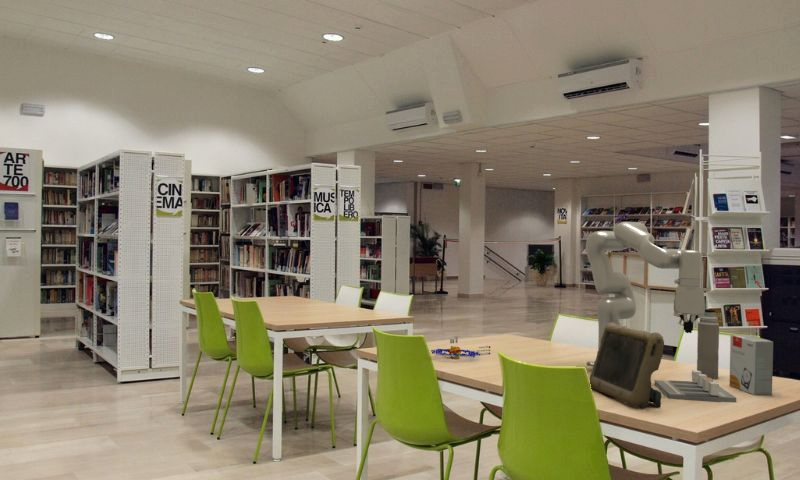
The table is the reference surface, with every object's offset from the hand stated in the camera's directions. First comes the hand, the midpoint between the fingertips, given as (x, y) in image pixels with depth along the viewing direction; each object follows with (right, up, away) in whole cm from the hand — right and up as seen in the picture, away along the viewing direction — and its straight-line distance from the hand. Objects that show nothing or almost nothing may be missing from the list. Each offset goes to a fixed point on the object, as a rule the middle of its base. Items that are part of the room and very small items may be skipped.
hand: (688, 332), depth 243 cm
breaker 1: (+7, -20, +7) cm, 22 cm away
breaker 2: (+3, -20, -13) cm, 24 cm away
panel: (+1, -22, -2) cm, 22 cm away
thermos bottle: (+20, -23, +27) cm, 40 cm away
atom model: (-78, -21, +61) cm, 101 cm away
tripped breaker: (+4, -20, -7) cm, 21 cm away
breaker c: (+5, -20, 0) cm, 21 cm away
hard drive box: (+25, -23, +4) cm, 34 cm away
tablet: (-28, -22, -12) cm, 37 cm away
